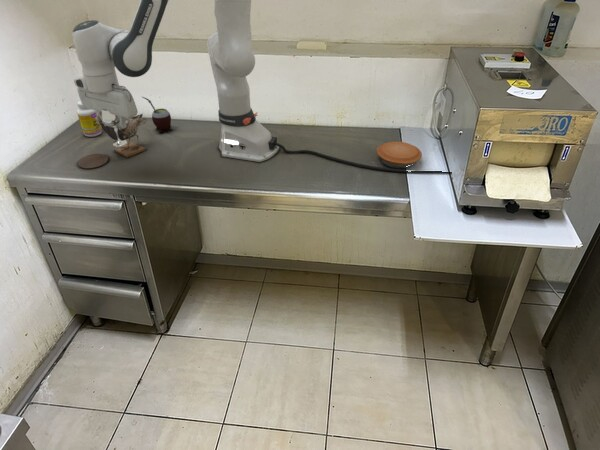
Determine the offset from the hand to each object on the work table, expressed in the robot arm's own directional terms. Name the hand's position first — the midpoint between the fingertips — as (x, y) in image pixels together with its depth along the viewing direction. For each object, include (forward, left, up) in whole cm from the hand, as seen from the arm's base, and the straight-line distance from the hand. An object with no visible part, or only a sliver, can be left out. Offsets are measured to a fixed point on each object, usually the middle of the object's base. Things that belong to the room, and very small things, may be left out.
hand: (114, 125), depth 137 cm
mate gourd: (+12, -31, -17) cm, 37 cm away
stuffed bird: (+11, -12, -17) cm, 24 cm away
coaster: (+16, 0, -17) cm, 23 cm away
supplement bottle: (+34, -16, -17) cm, 41 cm away
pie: (-78, -51, -17) cm, 95 cm away
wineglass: (0, 0, -6) cm, 6 cm away
